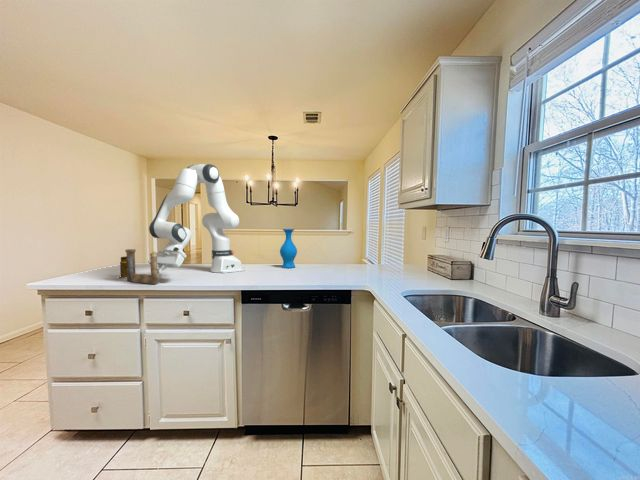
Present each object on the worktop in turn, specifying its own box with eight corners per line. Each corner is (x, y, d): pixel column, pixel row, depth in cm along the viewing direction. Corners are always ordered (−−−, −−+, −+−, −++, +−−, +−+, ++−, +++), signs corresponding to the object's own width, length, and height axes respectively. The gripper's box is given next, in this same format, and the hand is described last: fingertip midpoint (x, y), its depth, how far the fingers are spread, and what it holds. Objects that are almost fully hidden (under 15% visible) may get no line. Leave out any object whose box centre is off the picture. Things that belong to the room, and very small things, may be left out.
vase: (276, 267, 208) (276, 229, 206) (290, 265, 216) (290, 228, 214) (286, 269, 199) (286, 229, 197) (300, 267, 207) (300, 229, 205)
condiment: (133, 277, 167) (132, 257, 166) (115, 278, 162) (115, 258, 162) (133, 275, 173) (132, 255, 172) (116, 276, 168) (115, 256, 168)
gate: (126, 280, 154) (125, 250, 153) (132, 279, 157) (131, 249, 156) (153, 284, 146) (152, 252, 145) (159, 283, 149) (158, 251, 148)
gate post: (136, 279, 161) (135, 249, 160) (136, 280, 157) (135, 249, 156) (127, 279, 159) (126, 249, 158) (126, 281, 155) (125, 250, 154)
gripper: (154, 247, 160) (139, 267, 152) (182, 249, 153) (168, 270, 145) (161, 254, 164) (147, 274, 156) (189, 256, 158) (175, 276, 149)
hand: (157, 272), depth 150 cm, fingers closed
